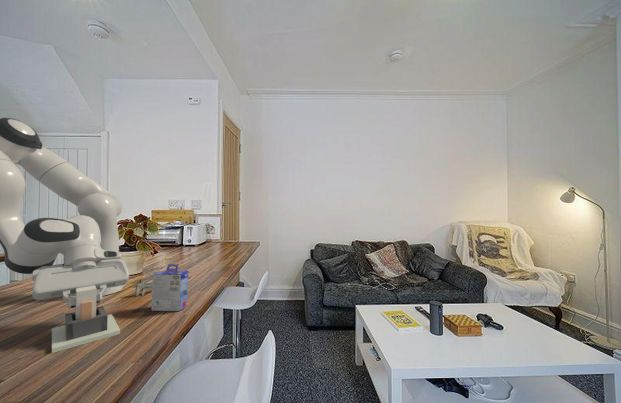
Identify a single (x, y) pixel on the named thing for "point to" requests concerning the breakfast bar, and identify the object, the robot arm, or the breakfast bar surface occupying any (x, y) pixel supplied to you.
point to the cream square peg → (85, 303)
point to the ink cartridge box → (170, 290)
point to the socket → (83, 330)
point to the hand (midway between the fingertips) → (86, 304)
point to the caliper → (143, 287)
